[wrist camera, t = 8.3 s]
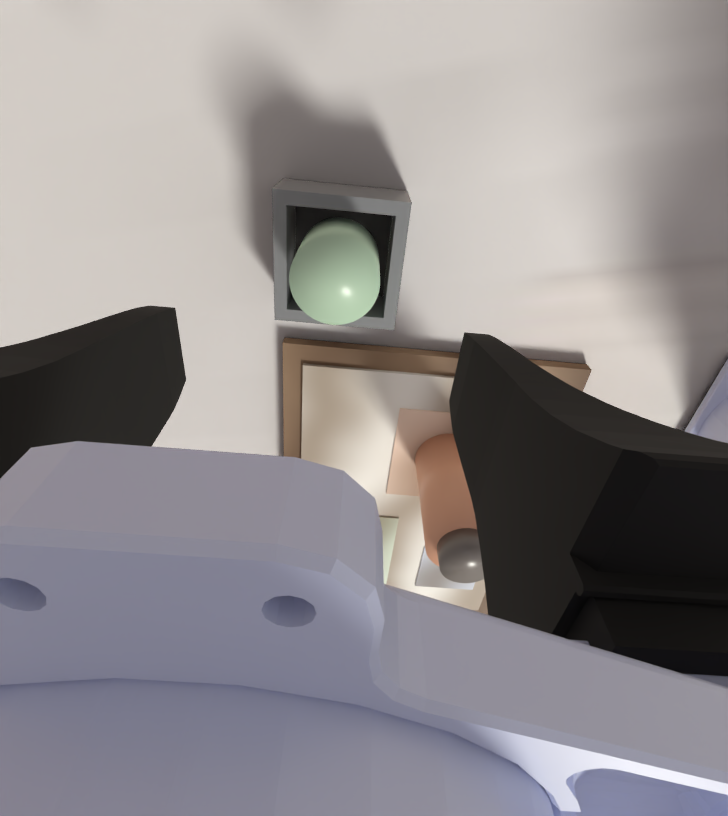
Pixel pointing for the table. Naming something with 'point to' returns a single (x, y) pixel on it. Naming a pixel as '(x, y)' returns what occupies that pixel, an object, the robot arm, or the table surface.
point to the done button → (336, 272)
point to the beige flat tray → (383, 438)
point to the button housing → (343, 199)
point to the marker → (447, 511)
